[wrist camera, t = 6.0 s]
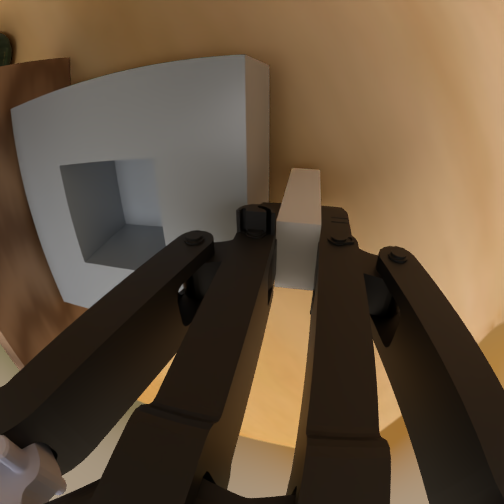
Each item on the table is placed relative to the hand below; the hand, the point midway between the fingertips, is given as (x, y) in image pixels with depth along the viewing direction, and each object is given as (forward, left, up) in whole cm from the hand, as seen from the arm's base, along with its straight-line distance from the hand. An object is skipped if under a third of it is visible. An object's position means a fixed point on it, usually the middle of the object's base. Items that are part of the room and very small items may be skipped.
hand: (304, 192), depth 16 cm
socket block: (0, -9, -2) cm, 9 cm away
